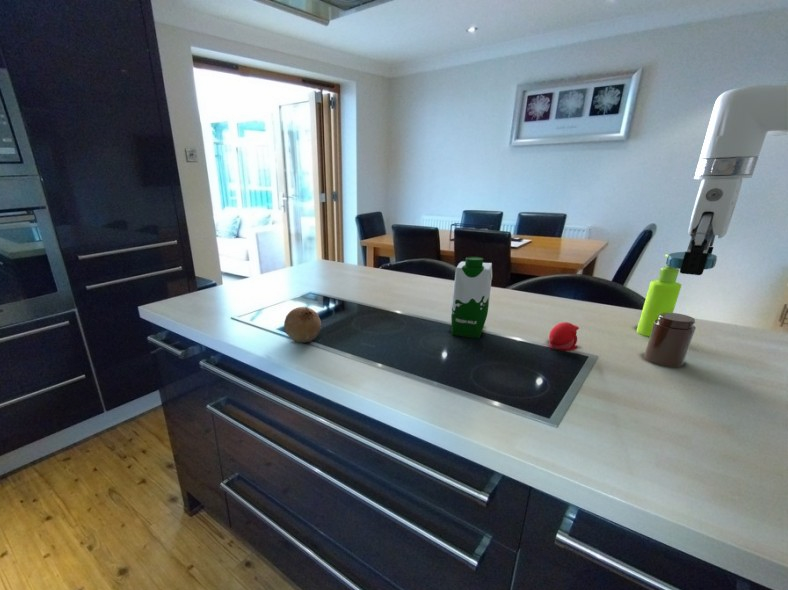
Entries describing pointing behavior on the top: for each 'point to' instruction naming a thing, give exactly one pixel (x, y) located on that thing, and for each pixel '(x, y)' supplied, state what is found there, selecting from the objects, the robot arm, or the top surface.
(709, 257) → the lid
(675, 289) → the soap dispenser
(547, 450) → the top surface
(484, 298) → the milk carton
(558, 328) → the cap
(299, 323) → the brown round piece
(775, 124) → the robot arm
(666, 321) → the jar
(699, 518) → the top surface
